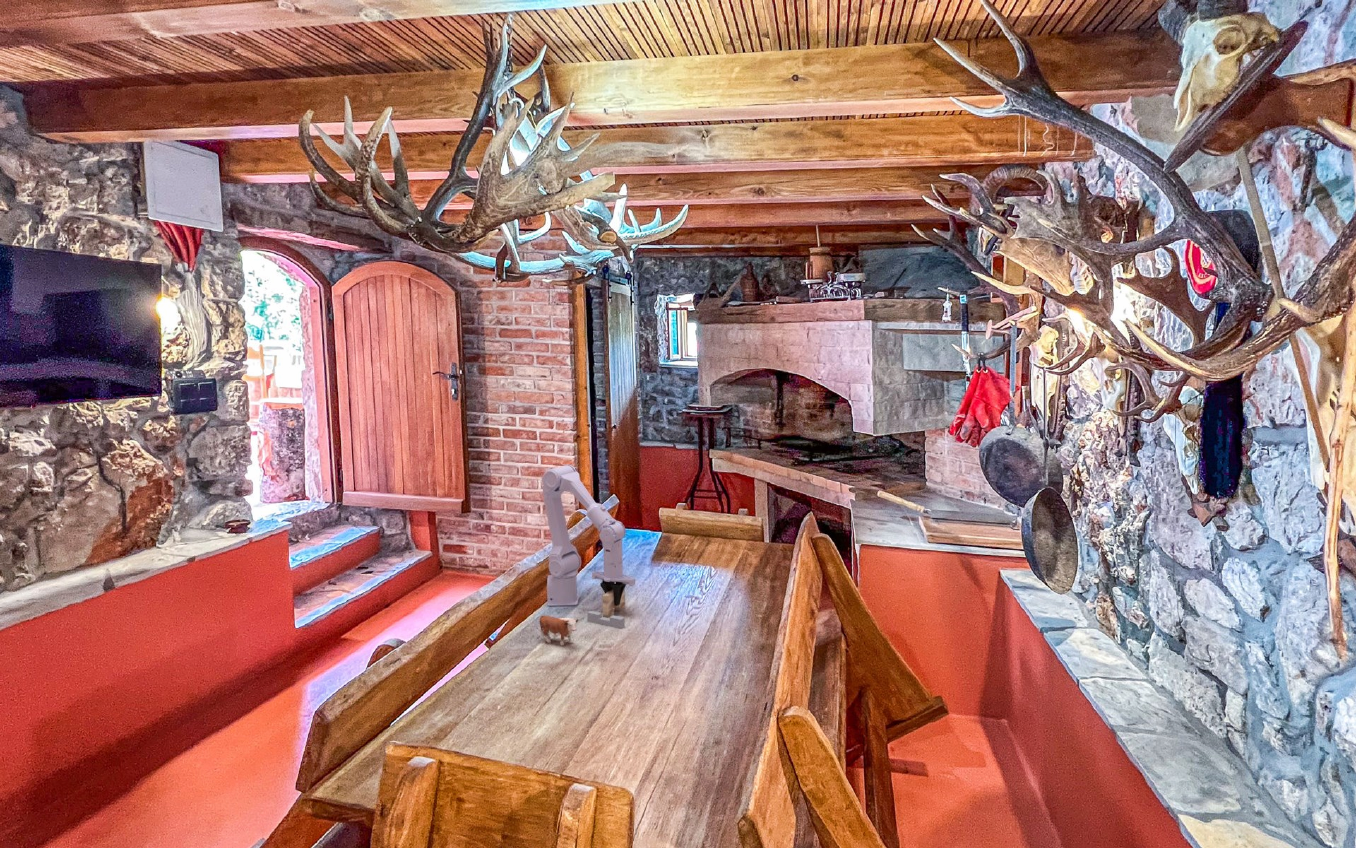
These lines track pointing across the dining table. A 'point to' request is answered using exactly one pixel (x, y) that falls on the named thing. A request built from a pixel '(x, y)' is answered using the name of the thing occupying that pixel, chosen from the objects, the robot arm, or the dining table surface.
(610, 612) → the beige slab block
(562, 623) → the bull figurine
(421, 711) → the dining table surface
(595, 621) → the slate rail
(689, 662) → the dining table surface
